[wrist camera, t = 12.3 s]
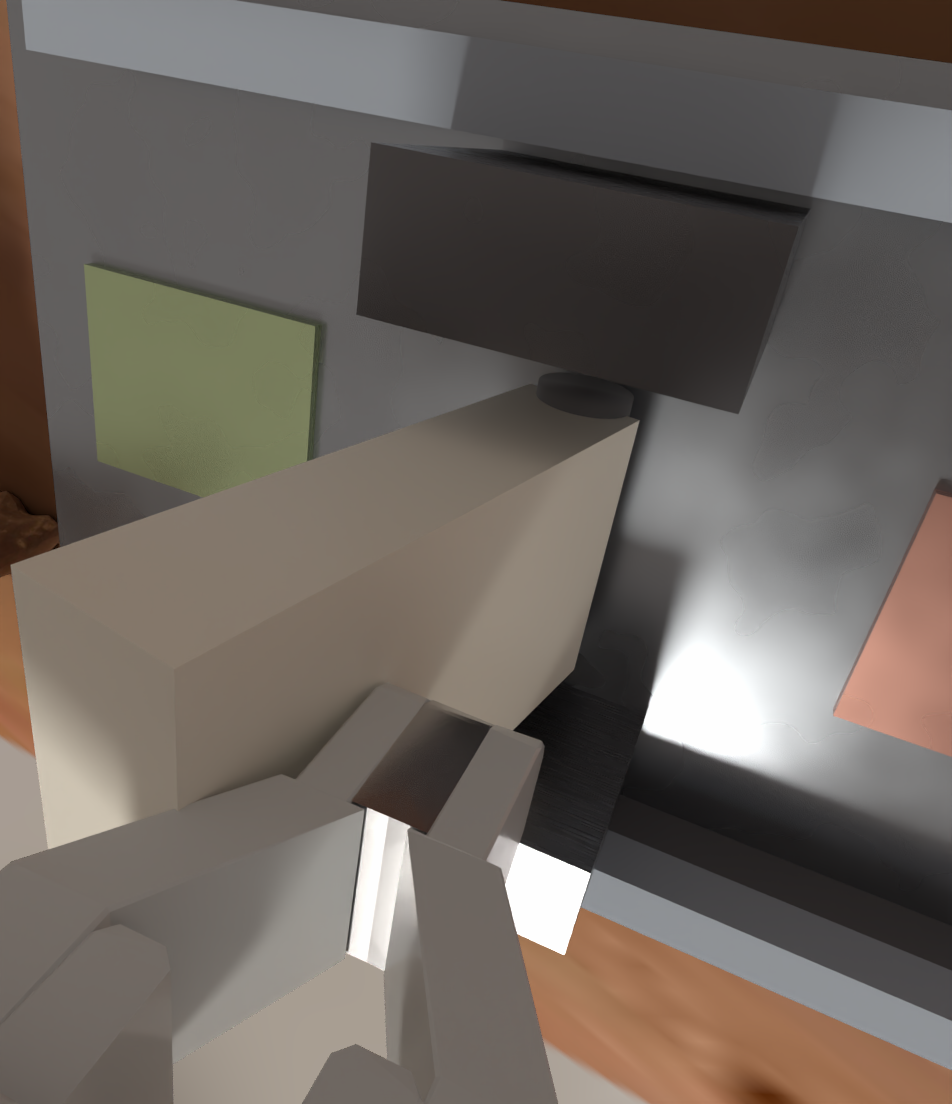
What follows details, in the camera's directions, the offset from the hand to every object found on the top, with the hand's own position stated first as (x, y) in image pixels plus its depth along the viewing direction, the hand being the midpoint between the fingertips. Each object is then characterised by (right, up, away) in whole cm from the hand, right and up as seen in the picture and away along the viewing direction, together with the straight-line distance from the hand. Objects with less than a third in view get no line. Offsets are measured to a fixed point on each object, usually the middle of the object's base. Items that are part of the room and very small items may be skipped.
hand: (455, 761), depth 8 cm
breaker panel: (+3, +4, +8) cm, 9 cm away
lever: (+1, +2, +5) cm, 5 cm away
